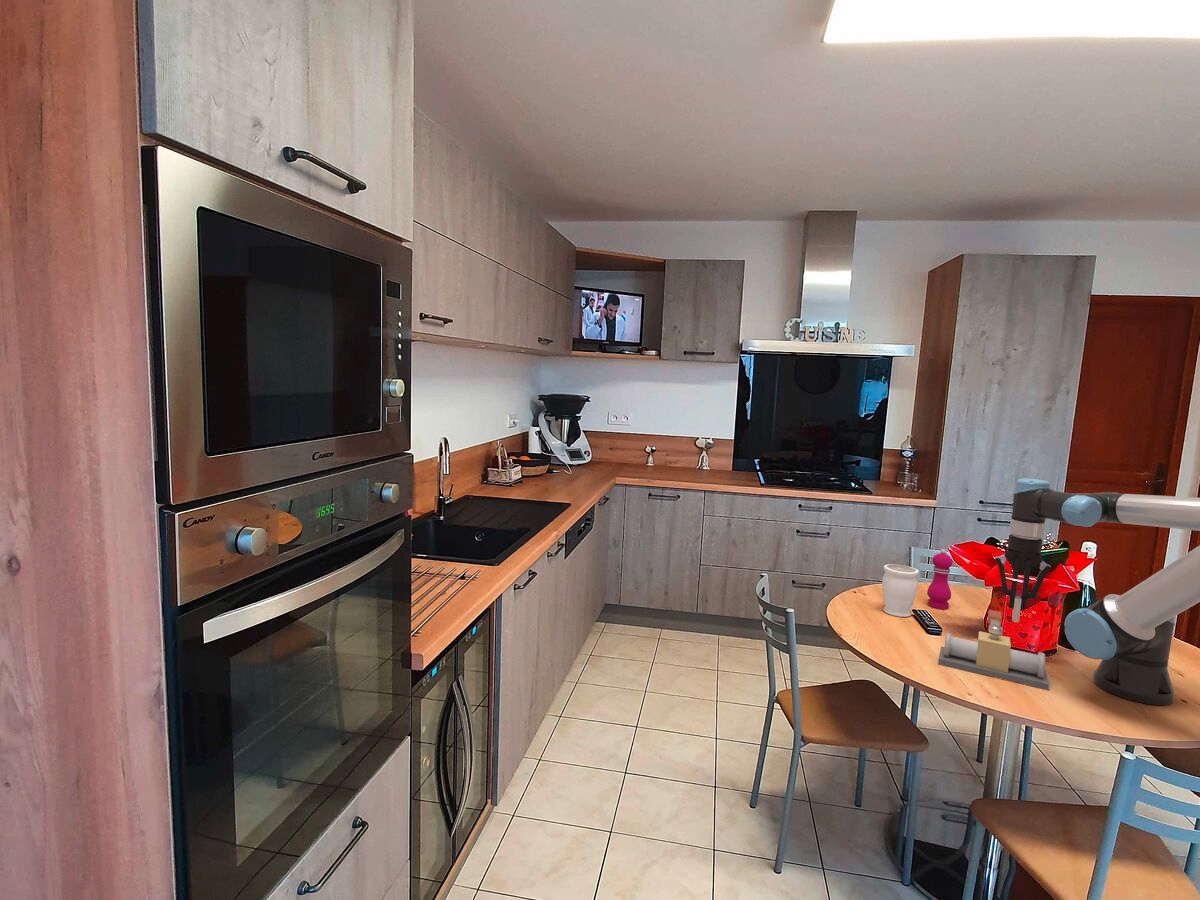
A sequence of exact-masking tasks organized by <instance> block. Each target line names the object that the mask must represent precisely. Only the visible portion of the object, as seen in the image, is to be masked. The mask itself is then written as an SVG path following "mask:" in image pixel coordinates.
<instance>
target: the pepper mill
mask: <svg viewBox="0 0 1200 900" xmlns="http://www.w3.org/2000/svg"><path fill="white" fill-rule="evenodd" d="M931 561H932V564H933V565H934V566H933V569H932V571H933V573H934V574H933V578H932V581H931V583H930V584H929V586H928V588H927V591H926V594H927V596H928V597H929V598H928V600H927V606H929V607H930V608H933V609H935V610H944V611H945V610H948V609H949V607H950V606H949V601H950V600H951V598H952V591H951V588H950V584H949V583H948V582H949V580H948V578H949V574H950V573H951V569H950V568H951V567H952V565H953V558H952V556H950V555H949V554H947V550H946V549H945V548H942V549H941V550H940V553H936V554H934V555H933V557H932V560H931Z"/></svg>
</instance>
